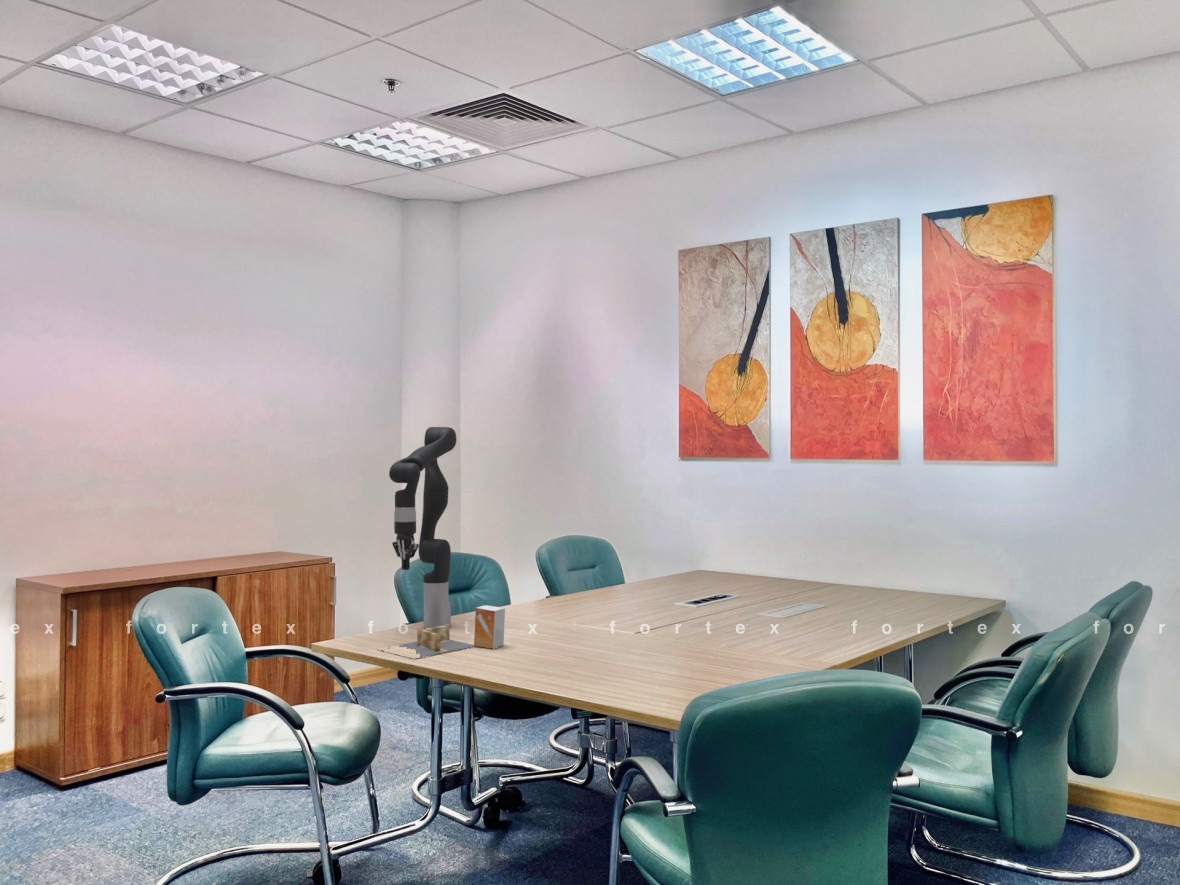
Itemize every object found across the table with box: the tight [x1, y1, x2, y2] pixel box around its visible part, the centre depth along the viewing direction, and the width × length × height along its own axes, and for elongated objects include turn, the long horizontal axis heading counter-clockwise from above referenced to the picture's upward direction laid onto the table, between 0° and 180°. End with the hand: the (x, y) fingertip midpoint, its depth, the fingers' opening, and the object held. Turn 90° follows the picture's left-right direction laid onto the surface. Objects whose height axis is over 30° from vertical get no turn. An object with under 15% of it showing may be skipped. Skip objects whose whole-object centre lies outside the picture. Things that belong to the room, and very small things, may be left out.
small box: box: [473, 604, 506, 649], centre depth 330 cm, size 8×6×13 cm
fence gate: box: [420, 630, 441, 650], centre depth 325 cm, size 11×2×5 cm, turn 41°
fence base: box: [416, 624, 450, 646], centre depth 334 cm, size 13×2×6 cm, turn 136°
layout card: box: [388, 639, 477, 657], centre depth 327 cm, size 26×21×1 cm
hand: (405, 569), depth 339 cm, fingers closed
